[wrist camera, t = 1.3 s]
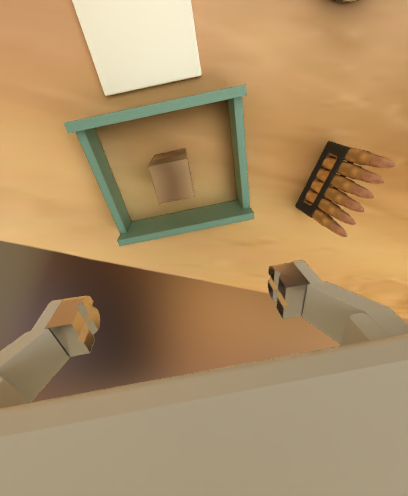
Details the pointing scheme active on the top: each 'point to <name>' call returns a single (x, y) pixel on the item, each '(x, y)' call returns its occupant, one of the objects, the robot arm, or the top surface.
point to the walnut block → (171, 176)
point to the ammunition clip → (339, 184)
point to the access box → (178, 220)
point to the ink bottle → (345, 1)
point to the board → (139, 42)
